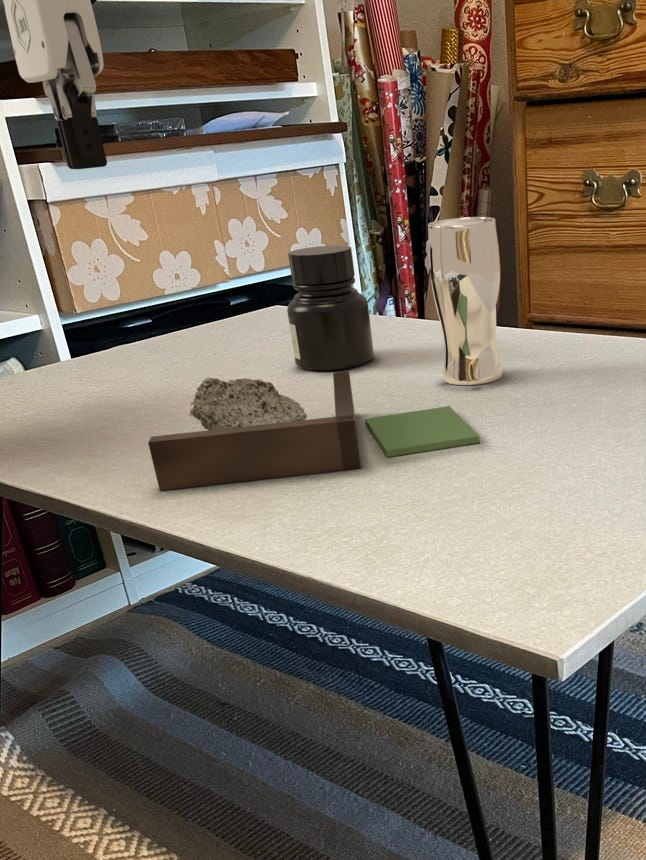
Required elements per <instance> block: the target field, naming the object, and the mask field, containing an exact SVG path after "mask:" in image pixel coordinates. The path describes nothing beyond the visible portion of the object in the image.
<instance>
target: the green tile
mask: <svg viewBox="0 0 646 860" xmlns="http://www.w3.org/2000/svg"><path fill="white" fill-rule="evenodd" d="M364 424H365V426H366V428H367V429H368V430H369V432H370V433H371V435H372V437H373V438H374V440H375V441H376V442H377V444H378V445H379V447H380V448H381V450H382V452H383V453H384V454H385V456H386V457H387V458H391V457H398V456H404V455H409V454H416V453H417V454H418V453H423V452H429V451H436V450H442V449H449V448H454V447H461V446H467V445H473V444H480V443H481V440H480V439H481V438H480V435H479V434H478V433H477V432H476V431H475V430H474V429H473V428H472V427H471V426H470V424H468V423H467V422H466V421H465V420H464V419H463V418H462V417H461V416H460V415H459V414H458V413H457V412H456V411H455V410H454V409H453V408H452V407H451V406H450V405H448V406H447V405H446V406H440V407H434V408H426V409H420V410H414V411H408V412H407V411H406V412H400V413H395V414H394V413H393V414H387V415H380V416H379V415H378V416H373V417H366V418H364Z"/></svg>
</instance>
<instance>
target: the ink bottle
mask: <svg viewBox="0 0 646 860" xmlns="http://www.w3.org/2000/svg"><path fill="white" fill-rule="evenodd" d="M287 256H288V262H289V268H290V269H289V270H290V275H291V282H292V283H293V284H292V287H293V289H294V290H296V291H298V292H297V293H296V294H295V295H294V296H293V299H292V300H291V301H290V302H289V303H288V305H287V309H286V311H287V320H288V325H289V332H290V338H291V344H292V350H293V355H294V356H293V358H294V362H295V365H296V366H297V367H299V368H301V369H303V370H311V371H337V370H343V369H350V368H353V367H357V366H360V365H362V364H365V363H368V362H369V361H371V360H372V359H373V358H374V355H375V353H374V352H375V351H374V344H373V335H372V326H371V319H370V311H369V303H368V300H367V298H366V297H365V296H364V295H363V294H362V293H360V292H359V291H358V289H356V288H355V287H352V286H353V285H354V284H355V282H356V278H355V273H356V272H355V267H354V260H353V259H354V258H353V251H352V246H348V245H340V244H339V245H320V246H318V245H317V246H312V247H311V246H310V247H305V248H304V247H303V248H299V249H294V250H292V251H289V252H288V253H287Z"/></svg>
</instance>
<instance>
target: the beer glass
mask: <svg viewBox="0 0 646 860" xmlns="http://www.w3.org/2000/svg"><path fill="white" fill-rule="evenodd" d="M496 221H497V220H496V218H495V217H489V216H465V217H454V218H453V217H452V218H445V219H439V220H435V221H431V222H429V223H428V224H427V227H428V228H427V229H428V231H427V233H428V234H427V235H428V237H427V238H428V240H427V241H428V244H427V245H428V266H429V267H428V268H429V277H430V283H431V284H430V285H431V290H432V295H433V299H434V304H435V307H436V312H437V316H438V319H439V323H440V328H441V332H442V336H443V337H442V338H443V344H444V362H443V372H442V373H443V374H442V379H443V381H444V382H445V383H447V384H449V385H456V386H476V385H484V384H489V383H492V382H496V381H497V380H500V379H501V377H502V376H503V372H502V366H501V362H500V357H499V353H498V349H497V347H498V346H497V326H498V325H497V323H498V313H499V306H500V305H499V304H500V295H501V280H502V277H501V275H502V274H501V273H502V272H501V257H500V256H501V255H500V246H499V238H498V230H497V223H496Z"/></svg>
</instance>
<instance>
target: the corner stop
mask: <svg viewBox="0 0 646 860" xmlns="http://www.w3.org/2000/svg"><path fill="white" fill-rule="evenodd" d="M350 373H351V372H350V371H349V370H348V371H340V372H339V371H338V372H333V373H332V376H333V377H332V378H333V391H334V392H333V394H334V397H333V398H334V414H335V416H330V417H329V416H328V417H319V418H313V419H312V418H311V419H305V420H300V421H291V422H282V423H273V424H263V425H254V426H245V427H235V428H226V429H217V430H200V431H198V430H197V431H190V432H180V433H171V434H165V435H164V434H162V435H153V436H150V438H149V439H148V441H147V444H148V448H149V452H150V457H151V461H152V465H153V469H154V474H155V477H156V481H157V485H158V489H159V492H160V491H169V490H180V489H187V488H196V487H197V488H198V487H205V486H215V485H222V484H223V485H224V484H232V483H241V482H249V481H250V482H251V481H258V480H267V479H268V480H269V479H276V478H284V477H295V476H303V475H312V474H321V473H329V472H337V471H346V470H347V471H348V470H356V469H362V462H361V454H360V446H359V438H358V428H357V420H356V413H355V403H354V399H353V398H354V397H353V396H354V395H353V390H352V389H353V388H352V382H351V375H350Z"/></svg>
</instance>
